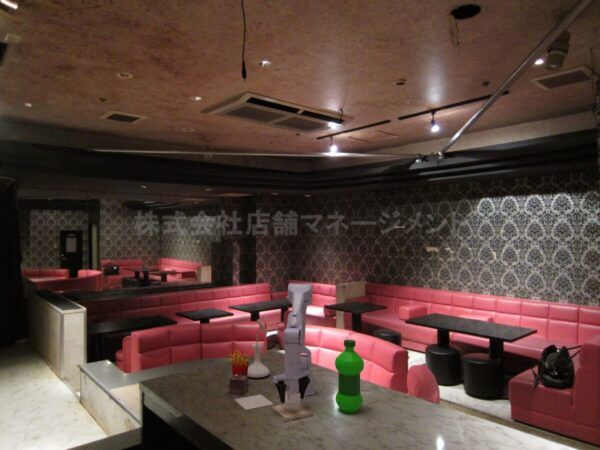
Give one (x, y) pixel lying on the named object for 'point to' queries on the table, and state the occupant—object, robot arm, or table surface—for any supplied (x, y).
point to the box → (239, 384)
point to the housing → (292, 401)
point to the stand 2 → (286, 414)
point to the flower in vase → (258, 358)
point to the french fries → (239, 363)
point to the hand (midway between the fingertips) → (292, 400)
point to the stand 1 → (253, 402)
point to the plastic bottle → (349, 378)
